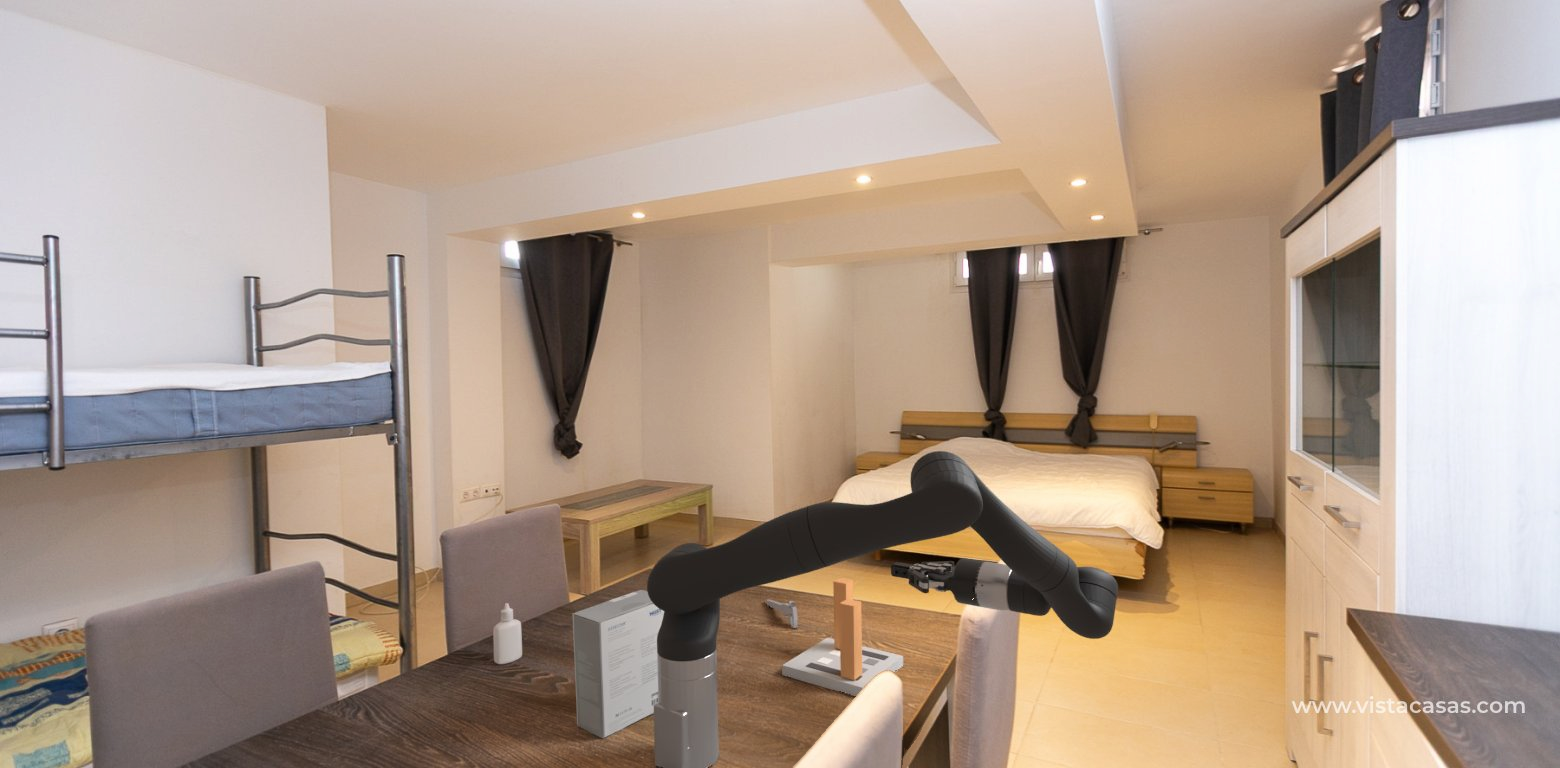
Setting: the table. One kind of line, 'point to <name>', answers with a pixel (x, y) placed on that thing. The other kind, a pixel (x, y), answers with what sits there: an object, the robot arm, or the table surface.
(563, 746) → the table surface
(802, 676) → the switch panel
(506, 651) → the eye dropper bottle
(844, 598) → the switch tab
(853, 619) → the switch tab
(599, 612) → the hard drive box
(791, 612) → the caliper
